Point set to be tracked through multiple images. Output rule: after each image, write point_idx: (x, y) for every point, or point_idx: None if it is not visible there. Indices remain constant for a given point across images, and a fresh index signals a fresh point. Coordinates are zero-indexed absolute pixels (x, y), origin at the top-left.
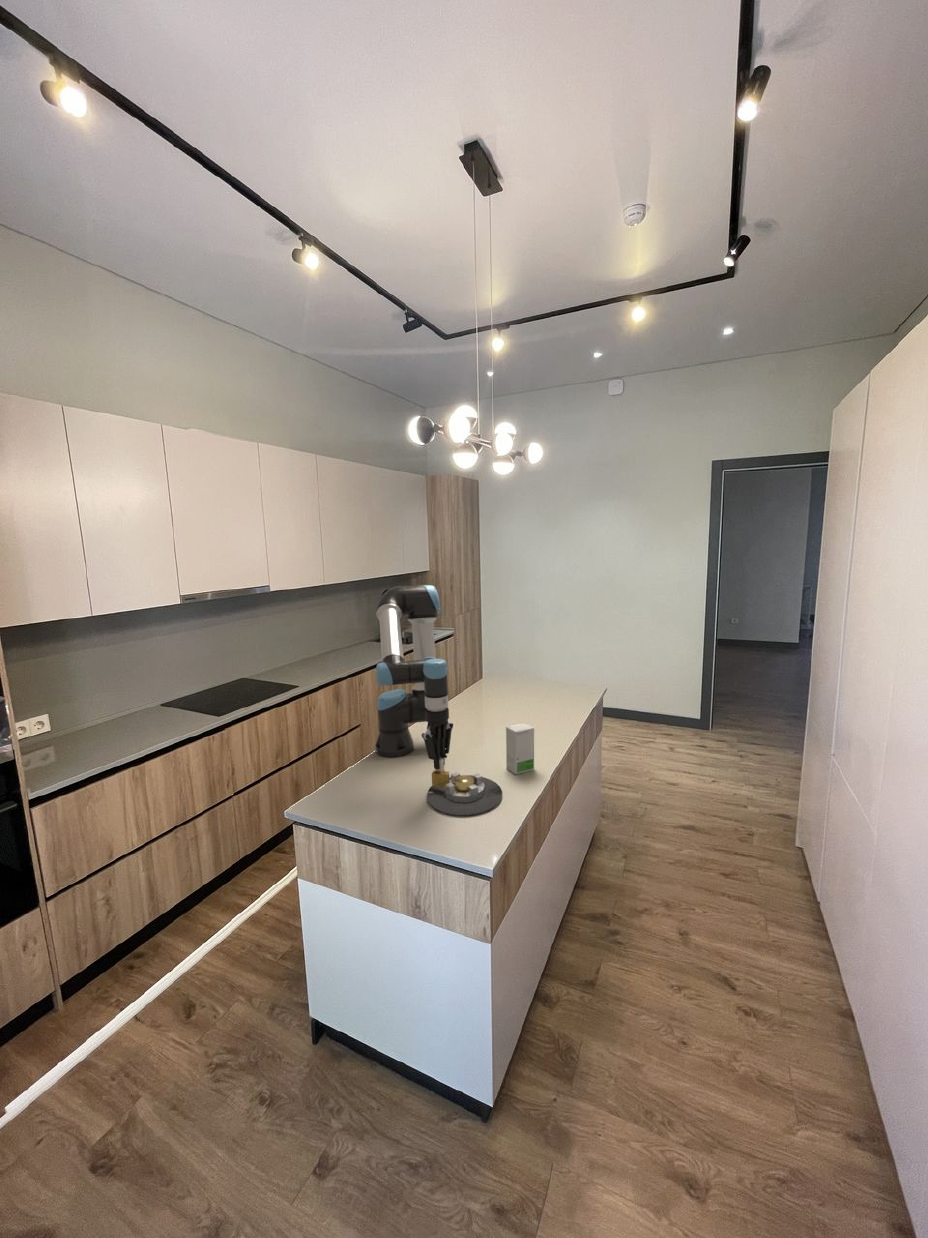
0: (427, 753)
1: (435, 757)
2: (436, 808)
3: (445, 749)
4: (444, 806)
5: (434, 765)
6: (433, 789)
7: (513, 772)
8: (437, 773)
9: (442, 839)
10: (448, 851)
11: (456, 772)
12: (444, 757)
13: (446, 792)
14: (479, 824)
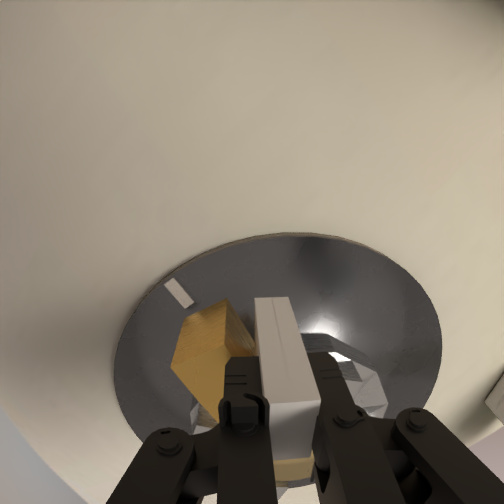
0: (115, 488)
1: (186, 502)
2: (116, 390)
3: (407, 470)
4: (146, 408)
5: (224, 386)
6: (217, 282)
7: (492, 393)
8: (206, 394)
9: (63, 450)
10: (57, 469)
11: (355, 385)
12: (312, 471)
13: (193, 406)
14: None
